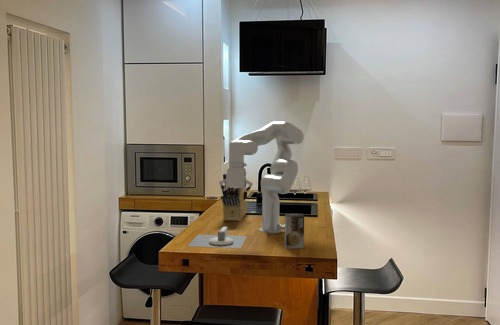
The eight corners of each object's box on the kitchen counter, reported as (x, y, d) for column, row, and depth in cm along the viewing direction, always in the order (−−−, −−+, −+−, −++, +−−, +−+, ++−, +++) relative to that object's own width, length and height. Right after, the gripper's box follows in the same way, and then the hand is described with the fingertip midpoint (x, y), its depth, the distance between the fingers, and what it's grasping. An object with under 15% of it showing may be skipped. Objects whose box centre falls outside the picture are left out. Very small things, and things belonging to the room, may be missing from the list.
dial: (231, 245, 245) (231, 235, 244) (207, 244, 246) (207, 234, 246) (236, 236, 263) (236, 227, 262) (213, 236, 264) (213, 226, 264)
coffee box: (302, 245, 254) (303, 213, 252) (304, 248, 248) (304, 216, 246) (284, 245, 254) (284, 213, 252) (285, 248, 247) (286, 215, 246)
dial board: (246, 239, 265) (246, 235, 265) (240, 251, 242) (240, 247, 241) (198, 237, 268) (198, 234, 268) (187, 249, 244) (187, 245, 244)
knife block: (219, 224, 301) (219, 172, 298) (230, 212, 336) (230, 166, 333) (238, 224, 299) (238, 172, 296) (247, 213, 334) (247, 166, 331)
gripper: (254, 165, 259) (253, 198, 260) (221, 164, 262) (220, 197, 263) (251, 166, 251) (250, 200, 253) (217, 165, 255) (217, 199, 256)
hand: (235, 198), depth 258 cm, fingers open, 9 cm apart
